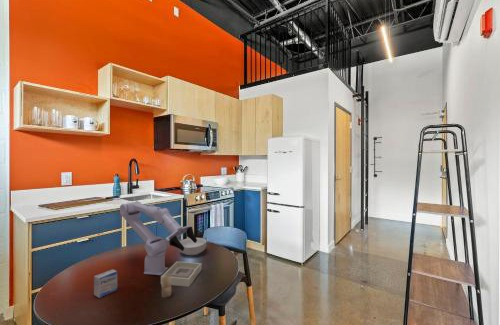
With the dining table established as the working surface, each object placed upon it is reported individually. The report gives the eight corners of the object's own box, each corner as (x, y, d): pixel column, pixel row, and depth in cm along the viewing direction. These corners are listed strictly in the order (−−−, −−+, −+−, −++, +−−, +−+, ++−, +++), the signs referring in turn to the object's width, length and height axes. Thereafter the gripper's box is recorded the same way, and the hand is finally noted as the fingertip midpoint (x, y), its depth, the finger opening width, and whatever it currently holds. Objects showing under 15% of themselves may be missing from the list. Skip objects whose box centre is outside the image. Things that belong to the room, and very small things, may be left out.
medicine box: (99, 298, 102) (99, 278, 102) (93, 295, 105) (93, 275, 105) (117, 290, 109) (117, 271, 109) (112, 287, 111) (112, 268, 111)
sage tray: (160, 284, 114) (160, 276, 114) (176, 267, 131) (176, 261, 131) (189, 286, 112) (189, 279, 112) (201, 269, 129) (201, 263, 129)
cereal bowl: (186, 247, 161) (186, 236, 161) (210, 249, 158) (210, 238, 158) (173, 257, 145) (173, 245, 145) (199, 260, 141) (199, 248, 141)
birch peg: (159, 297, 104) (159, 278, 104) (164, 292, 108) (164, 274, 108) (168, 298, 103) (168, 279, 103) (172, 292, 107) (172, 275, 107)
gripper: (161, 227, 113) (179, 247, 108) (185, 215, 125) (203, 232, 119) (158, 237, 117) (176, 257, 112) (183, 224, 128) (199, 241, 123)
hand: (189, 245), depth 116 cm, fingers open, 7 cm apart
